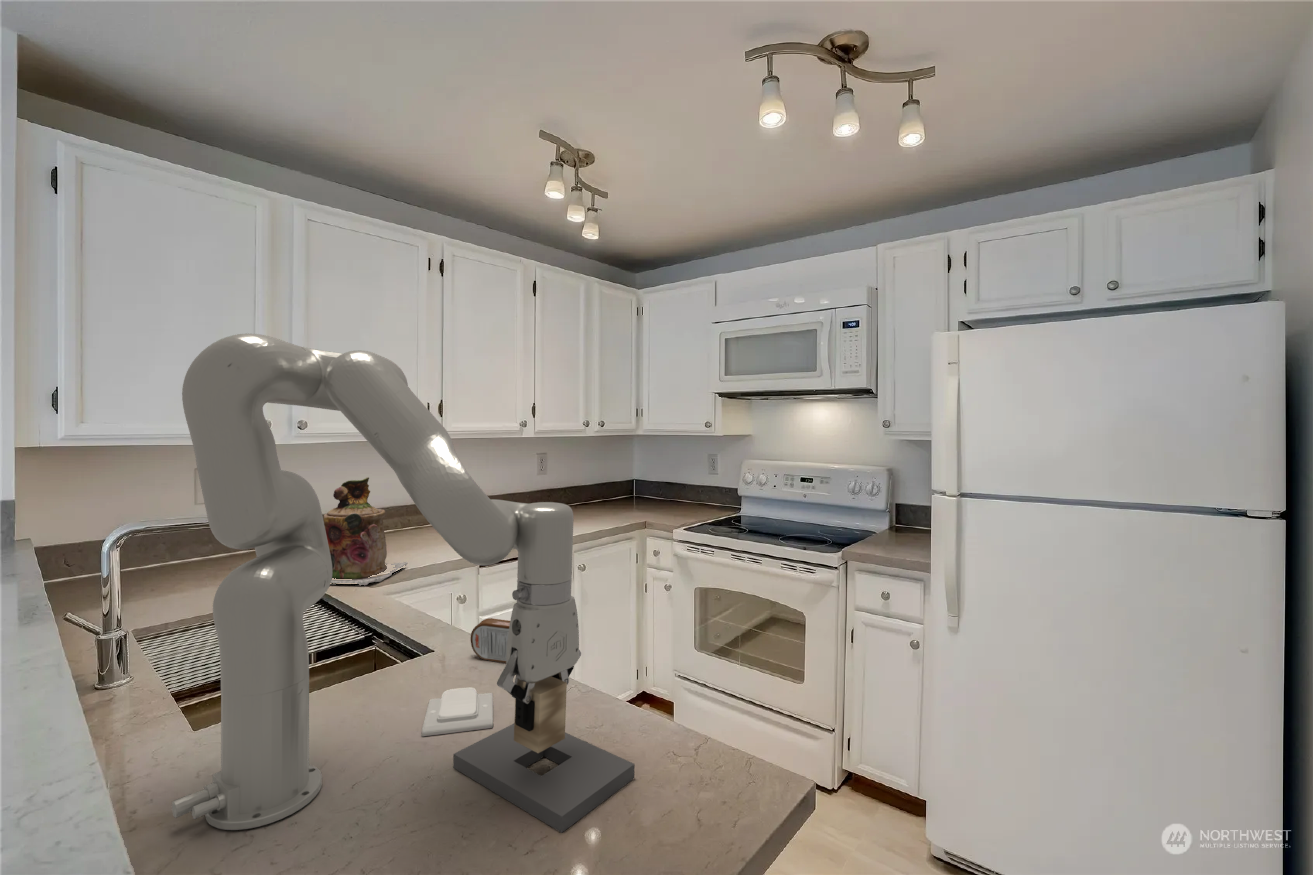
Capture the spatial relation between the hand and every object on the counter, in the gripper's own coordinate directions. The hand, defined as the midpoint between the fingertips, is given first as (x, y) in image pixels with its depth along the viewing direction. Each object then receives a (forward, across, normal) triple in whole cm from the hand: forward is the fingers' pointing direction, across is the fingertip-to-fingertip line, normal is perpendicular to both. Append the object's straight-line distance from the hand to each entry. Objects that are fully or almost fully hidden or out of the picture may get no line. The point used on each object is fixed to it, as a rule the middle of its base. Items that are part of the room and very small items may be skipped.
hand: (540, 718), depth 82 cm
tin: (+8, +22, +36) cm, 43 cm away
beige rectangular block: (+3, 0, 0) cm, 3 cm away
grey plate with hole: (+8, 0, 0) cm, 8 cm away
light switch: (+9, +4, +24) cm, 25 cm away
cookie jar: (+10, +37, +128) cm, 133 cm away
